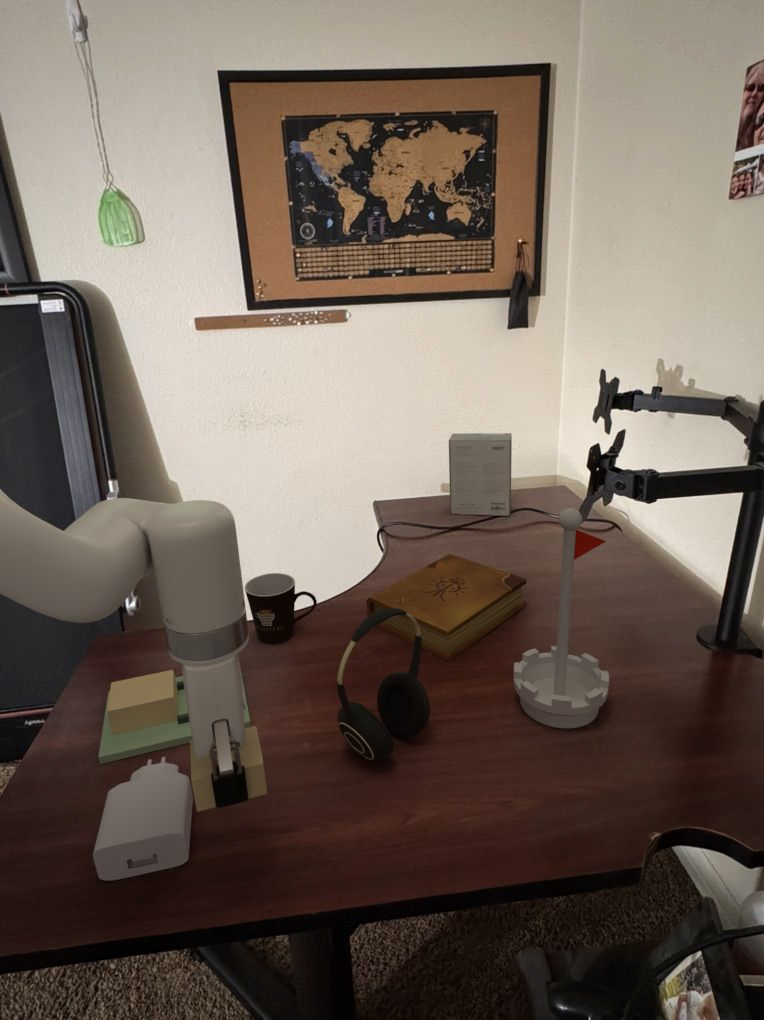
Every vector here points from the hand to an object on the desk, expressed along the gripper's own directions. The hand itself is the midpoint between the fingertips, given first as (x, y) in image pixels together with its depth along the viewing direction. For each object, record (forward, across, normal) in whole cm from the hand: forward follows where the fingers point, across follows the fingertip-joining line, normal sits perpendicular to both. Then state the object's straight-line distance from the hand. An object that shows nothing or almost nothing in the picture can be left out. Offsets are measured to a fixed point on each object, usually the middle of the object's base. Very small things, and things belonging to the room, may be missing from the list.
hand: (229, 777), depth 66 cm
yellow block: (+1, 0, 0) cm, 1 cm away
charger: (+11, -8, -9) cm, 17 cm away
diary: (+10, -39, +42) cm, 58 cm away
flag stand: (+10, -10, +46) cm, 49 cm away
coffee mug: (+11, -43, +12) cm, 46 cm away
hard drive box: (+10, -85, +70) cm, 111 cm away
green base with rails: (+11, -28, -6) cm, 31 cm away
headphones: (+11, -11, +20) cm, 26 cm away
